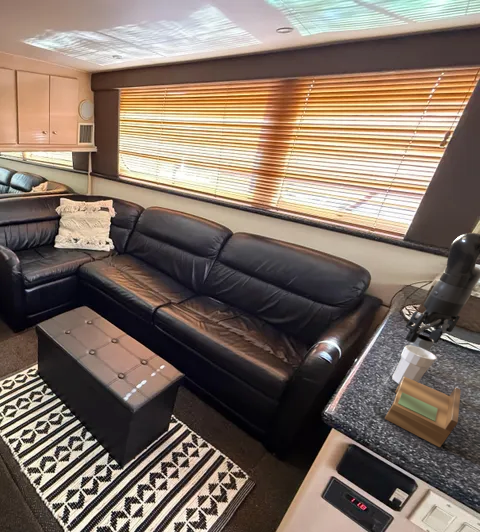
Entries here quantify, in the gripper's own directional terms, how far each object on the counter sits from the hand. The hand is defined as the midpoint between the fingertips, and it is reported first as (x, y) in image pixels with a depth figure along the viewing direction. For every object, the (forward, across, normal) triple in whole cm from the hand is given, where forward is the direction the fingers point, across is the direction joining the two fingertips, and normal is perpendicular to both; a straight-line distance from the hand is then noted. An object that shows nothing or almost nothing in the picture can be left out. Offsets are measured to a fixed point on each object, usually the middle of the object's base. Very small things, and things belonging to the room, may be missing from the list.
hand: (420, 341), depth 102 cm
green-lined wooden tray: (+9, -23, -21) cm, 32 cm away
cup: (+9, -12, -8) cm, 17 cm away
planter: (+9, 0, 0) cm, 9 cm away
